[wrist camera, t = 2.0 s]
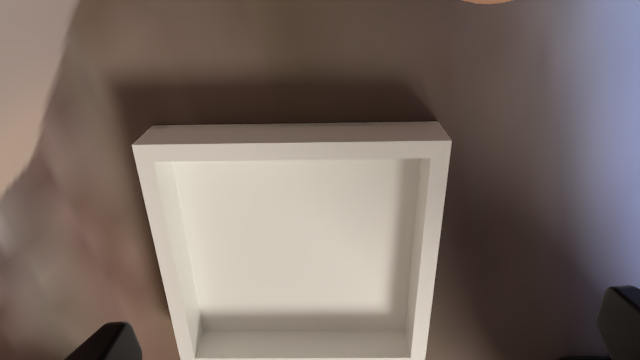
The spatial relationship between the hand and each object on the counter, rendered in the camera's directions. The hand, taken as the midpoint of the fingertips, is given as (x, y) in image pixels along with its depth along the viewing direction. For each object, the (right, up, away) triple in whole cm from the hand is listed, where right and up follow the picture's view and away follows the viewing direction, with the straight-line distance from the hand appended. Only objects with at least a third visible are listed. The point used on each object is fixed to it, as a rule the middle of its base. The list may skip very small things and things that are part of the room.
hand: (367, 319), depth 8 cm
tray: (-2, -1, +15) cm, 16 cm away
